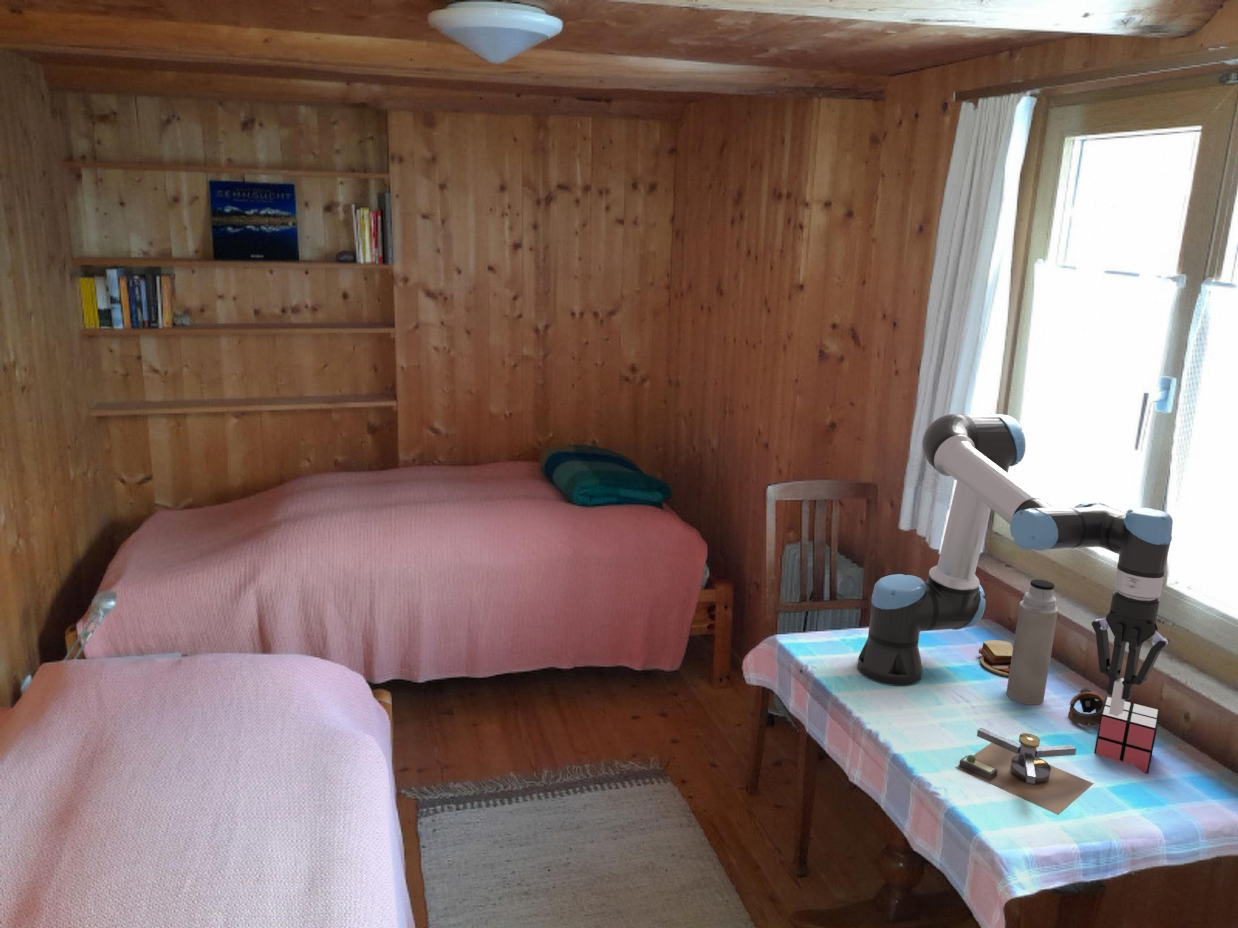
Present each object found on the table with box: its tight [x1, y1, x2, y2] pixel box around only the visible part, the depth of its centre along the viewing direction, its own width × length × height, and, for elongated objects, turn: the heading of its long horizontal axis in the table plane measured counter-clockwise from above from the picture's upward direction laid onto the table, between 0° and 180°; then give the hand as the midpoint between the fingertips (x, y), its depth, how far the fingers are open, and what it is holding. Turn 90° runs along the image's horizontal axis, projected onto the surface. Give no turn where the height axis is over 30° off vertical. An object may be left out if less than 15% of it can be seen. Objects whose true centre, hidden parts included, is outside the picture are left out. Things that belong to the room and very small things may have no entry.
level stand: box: [955, 742, 1094, 815], centre depth 184 cm, size 20×16×4 cm
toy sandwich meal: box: [978, 639, 1013, 678], centre depth 234 cm, size 12×14×5 cm
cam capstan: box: [976, 727, 1077, 784], centre depth 183 cm, size 16×18×8 cm
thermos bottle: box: [1006, 579, 1059, 705], centre depth 216 cm, size 8×8×28 cm
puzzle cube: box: [1093, 696, 1161, 774], centre depth 194 cm, size 10×10×10 cm
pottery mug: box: [1067, 687, 1105, 727], centre depth 208 cm, size 12×10×8 cm
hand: (1115, 712), depth 177 cm, fingers closed
